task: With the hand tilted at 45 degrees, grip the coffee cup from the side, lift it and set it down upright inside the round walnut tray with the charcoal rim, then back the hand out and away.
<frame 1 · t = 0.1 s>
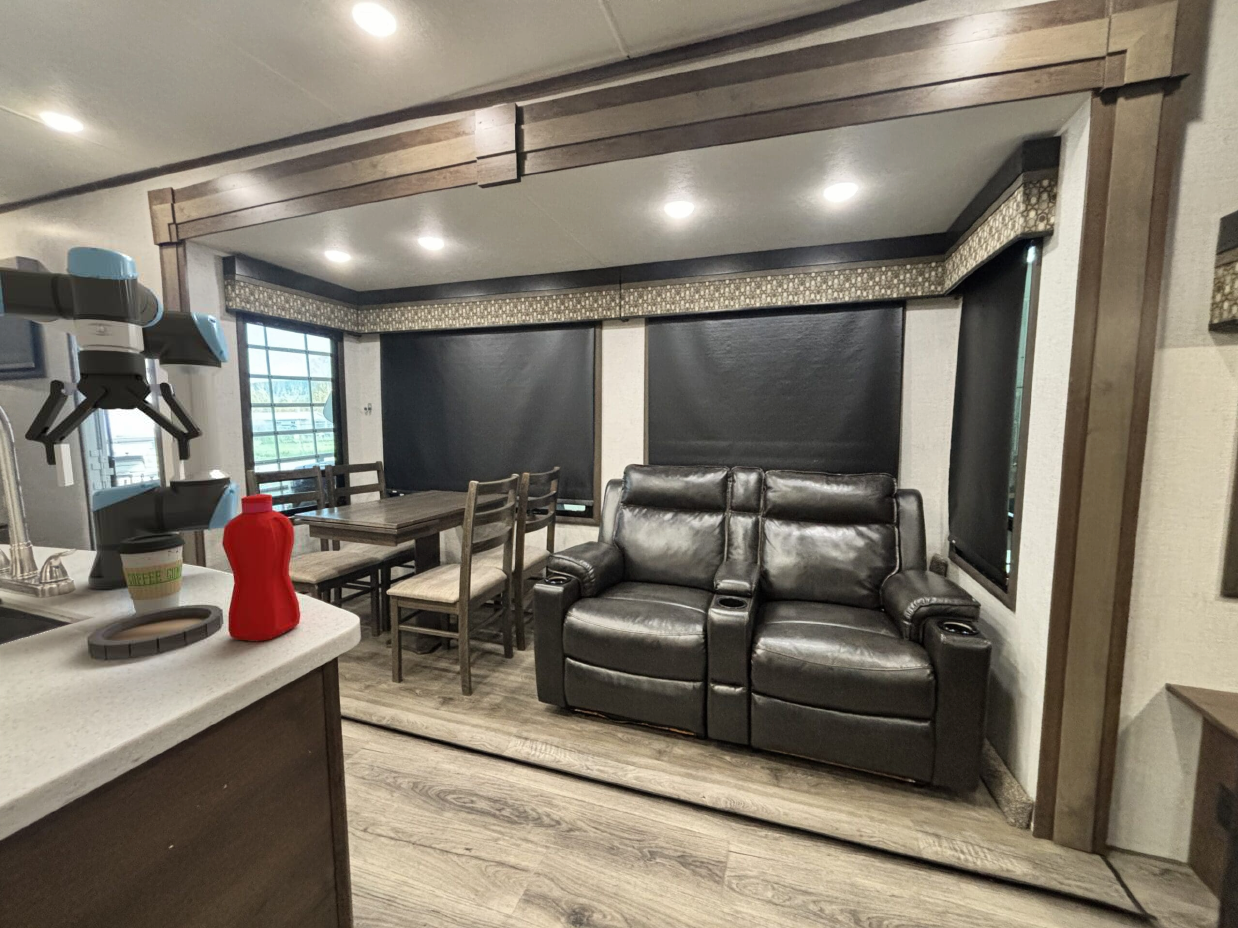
hand: (125, 482, 80), 28 cm above the counter, tool pointing down, fingers open, 13 cm apart
red curved bottle: (262, 632, 88), on the counter
round tray: (160, 636, 86), on the counter
coffee cup: (158, 612, 98), on the counter
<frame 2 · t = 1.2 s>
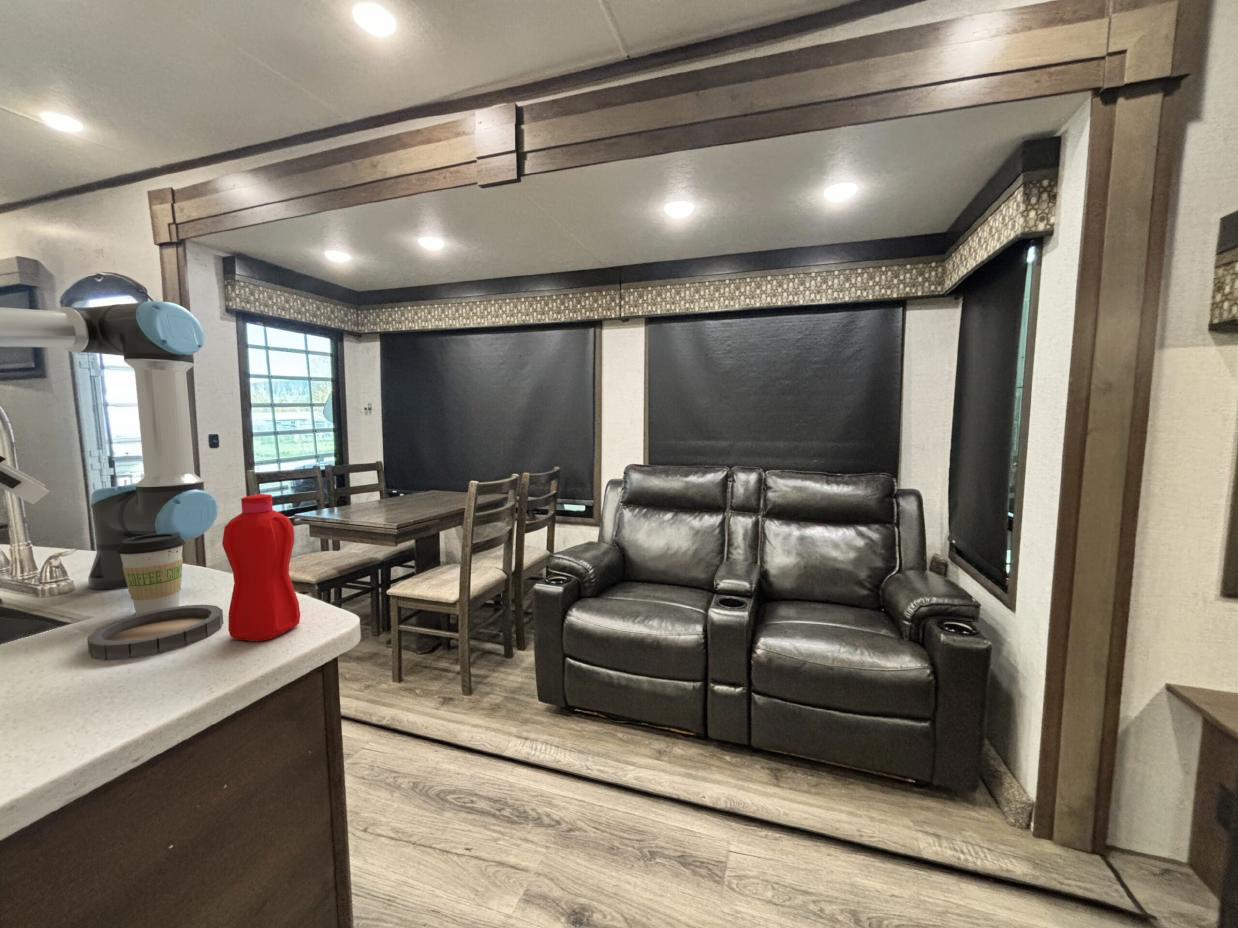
hand: (40, 494, 84), 25 cm above the counter, tool tilted 45°, fingers open, 13 cm apart
nothing on the counter moved.
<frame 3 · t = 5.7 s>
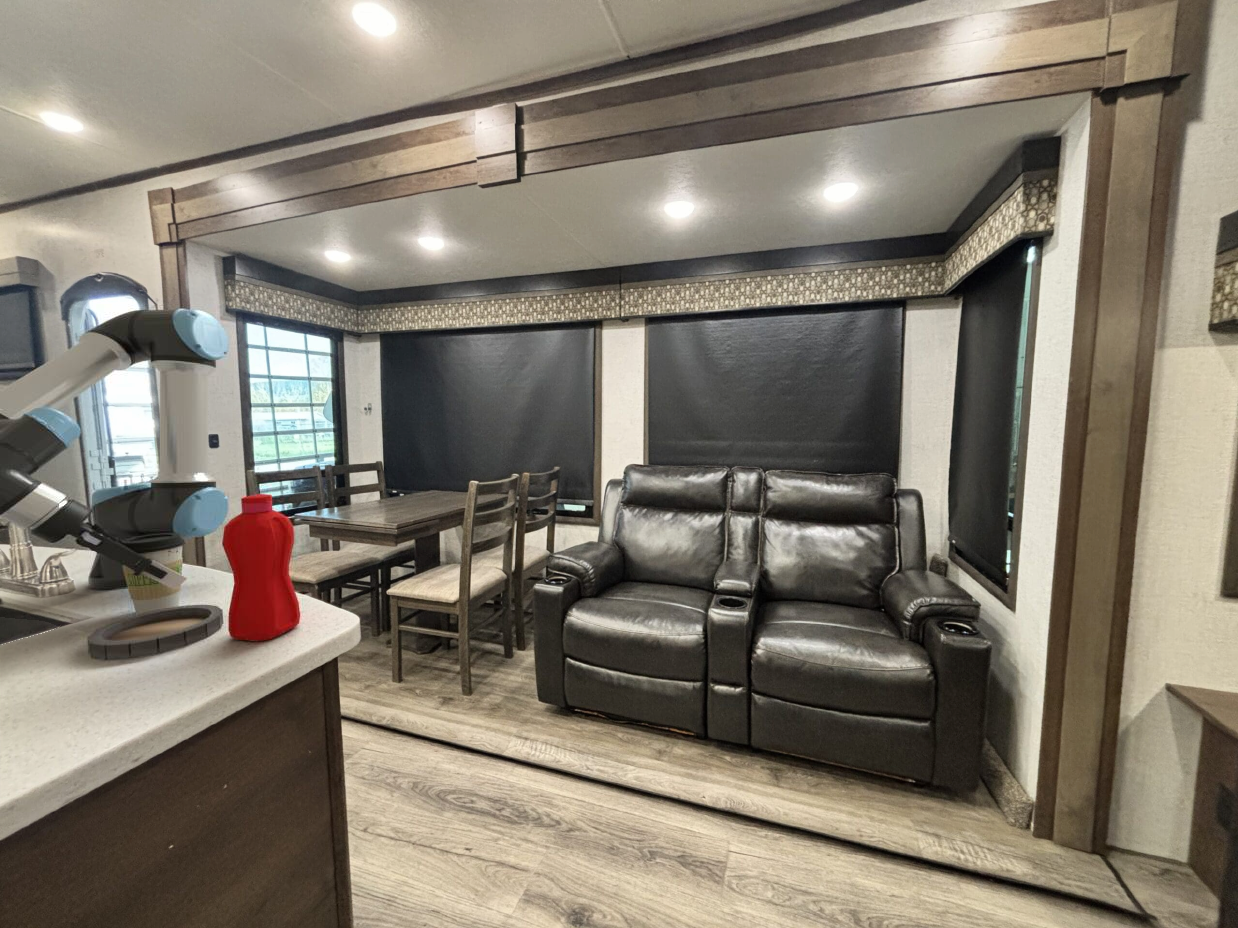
hand: (175, 578, 99), 6 cm above the counter, tool tilted 45°, fingers closed on coffee cup, 10 cm apart
coffee cup: (158, 612, 97), on the counter, touching gripper
everything else where it was.
when the fingers open (8 cm above the counter, at t = 11.8 s): coffee cup drops 1 cm, resting on round tray.
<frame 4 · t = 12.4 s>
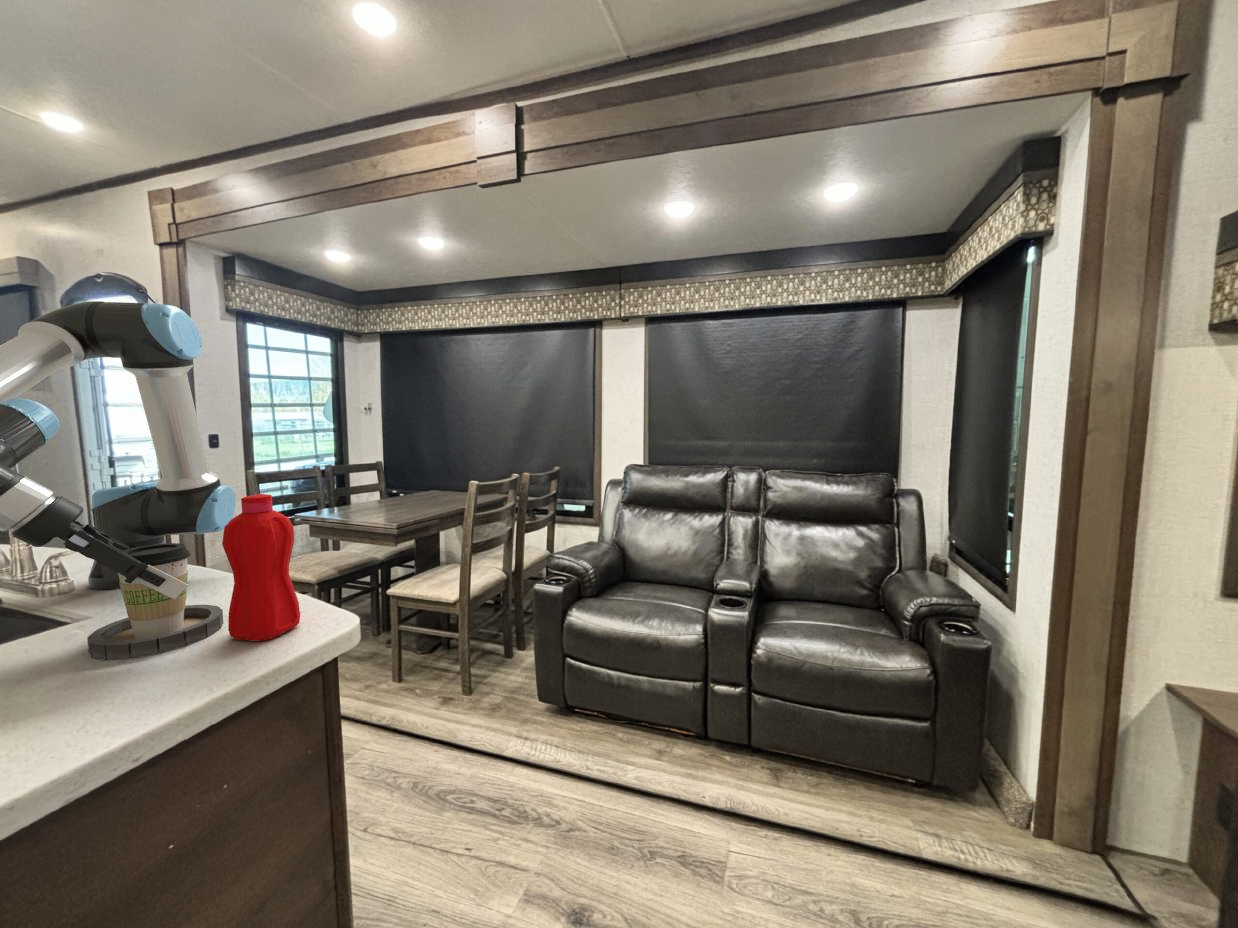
hand: (173, 583, 87), 9 cm above the counter, tool tilted 45°, fingers open, 13 cm apart
coffee cup: (159, 633, 86), point 1 cm above the counter, touching round tray
everything else where it was.
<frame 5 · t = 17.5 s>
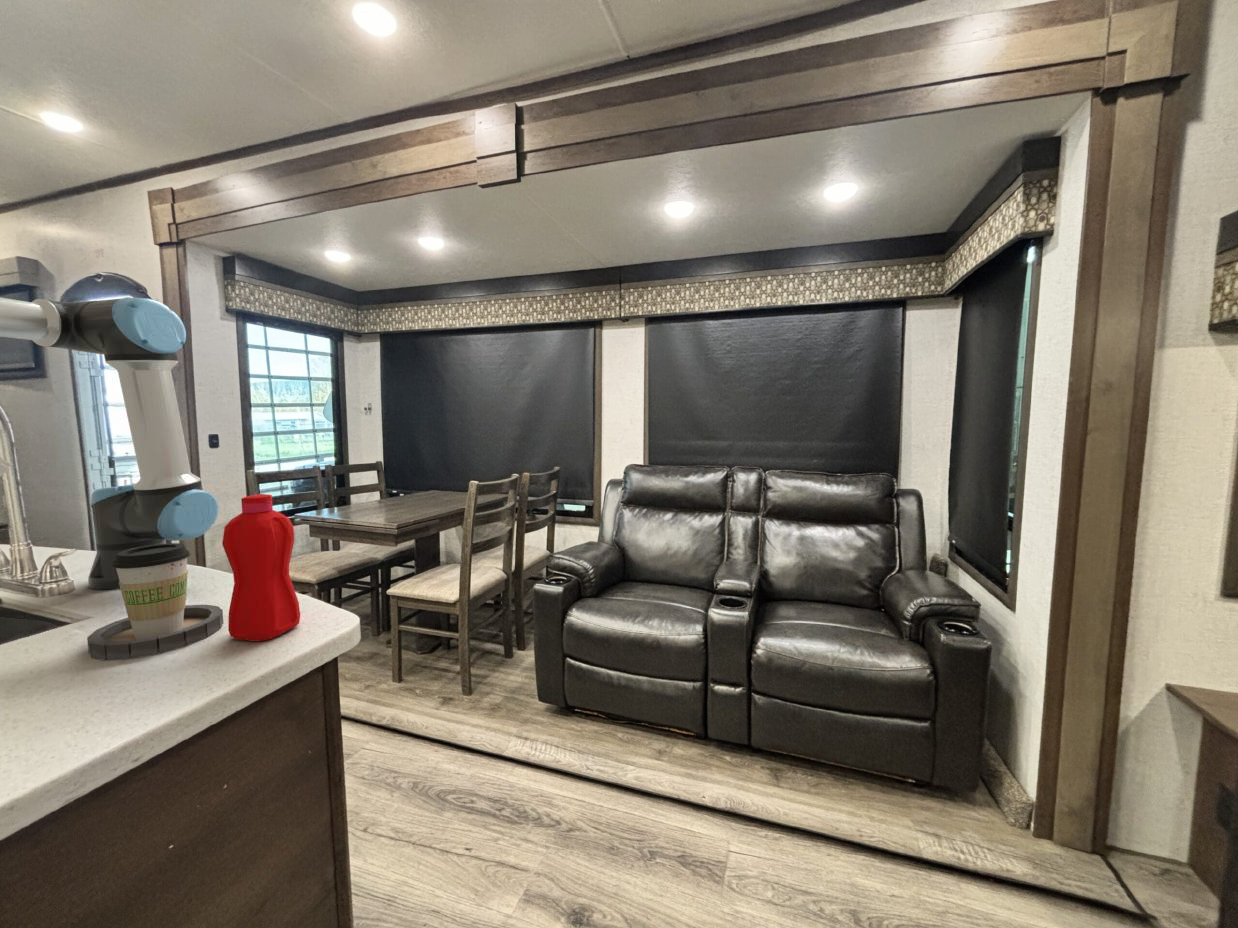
hand: (3, 472, 80), 30 cm above the counter, tool tilted 45°, fingers open, 13 cm apart
nothing on the counter moved.
at the end: coffee cup 0.2 cm off-centre on the round tray, point 0.6 cm above the round tray's base; coffee cup tilted 0°; the gripper is holding nothing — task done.
